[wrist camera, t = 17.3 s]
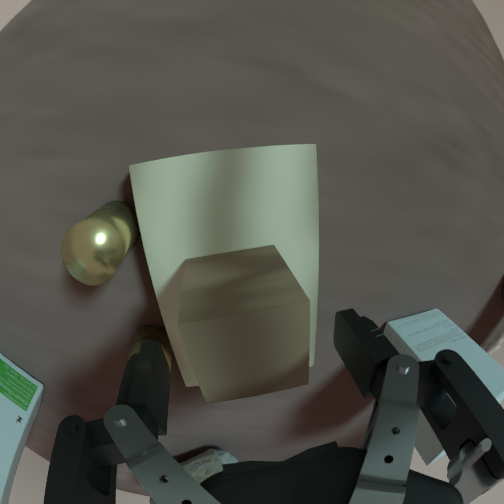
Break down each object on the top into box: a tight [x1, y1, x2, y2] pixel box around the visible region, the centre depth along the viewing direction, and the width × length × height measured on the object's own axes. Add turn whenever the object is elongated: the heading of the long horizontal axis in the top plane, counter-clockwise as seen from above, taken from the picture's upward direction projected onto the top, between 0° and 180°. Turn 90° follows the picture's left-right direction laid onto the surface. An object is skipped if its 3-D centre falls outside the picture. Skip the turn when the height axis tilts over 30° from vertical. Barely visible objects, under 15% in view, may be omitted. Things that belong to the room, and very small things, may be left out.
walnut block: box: [178, 245, 310, 403], centre depth 14 cm, size 5×5×6 cm
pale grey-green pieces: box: [129, 144, 319, 387], centre depth 18 cm, size 10×16×2 cm, turn 5°
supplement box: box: [383, 308, 504, 466], centre depth 18 cm, size 7×7×13 cm
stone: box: [150, 448, 238, 504], centre depth 22 cm, size 14×6×10 cm, turn 122°
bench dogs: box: [61, 200, 173, 373], centre depth 15 cm, size 3×12×5 cm, turn 6°
